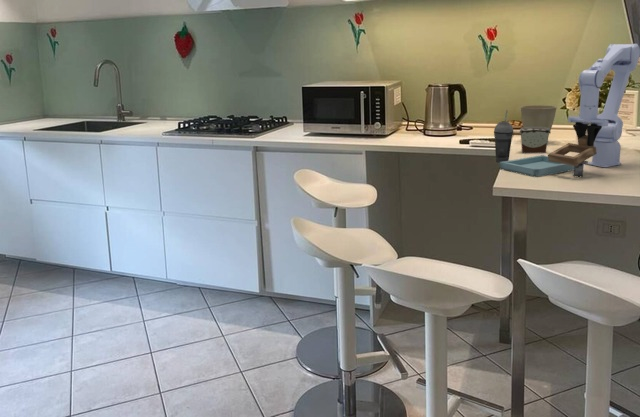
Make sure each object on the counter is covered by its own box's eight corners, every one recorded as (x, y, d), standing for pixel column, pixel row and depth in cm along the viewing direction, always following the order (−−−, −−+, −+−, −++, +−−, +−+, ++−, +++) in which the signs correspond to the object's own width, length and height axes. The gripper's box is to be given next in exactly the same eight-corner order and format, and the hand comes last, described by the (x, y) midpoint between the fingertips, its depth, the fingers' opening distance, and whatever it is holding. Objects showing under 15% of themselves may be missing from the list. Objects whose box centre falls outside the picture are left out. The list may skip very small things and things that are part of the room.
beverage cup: (503, 159, 247) (505, 108, 242) (516, 162, 241) (519, 109, 236) (488, 161, 244) (490, 109, 239) (501, 164, 238) (503, 111, 233)
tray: (541, 161, 241) (542, 155, 240) (579, 168, 227) (579, 161, 226) (499, 168, 231) (499, 162, 230) (535, 176, 216) (536, 169, 216)
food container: (545, 150, 263) (547, 126, 261) (549, 152, 258) (551, 128, 255) (515, 150, 265) (516, 126, 262) (518, 153, 259) (519, 128, 256)
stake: (573, 173, 219) (574, 158, 218) (588, 176, 214) (589, 160, 212) (567, 175, 218) (568, 159, 216) (582, 178, 213) (583, 162, 211)
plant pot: (560, 142, 280) (563, 106, 276) (542, 146, 271) (544, 109, 267) (530, 139, 292) (532, 104, 287) (512, 143, 282) (513, 107, 278)
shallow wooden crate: (576, 145, 226) (575, 133, 224) (604, 149, 217) (603, 137, 215) (548, 161, 220) (546, 149, 218) (575, 165, 210) (573, 153, 209)
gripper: (563, 105, 220) (560, 143, 224) (600, 108, 208) (596, 149, 212) (576, 103, 224) (574, 141, 227) (613, 106, 212) (610, 146, 215)
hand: (585, 145), depth 220 cm, fingers closed on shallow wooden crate, 3 cm apart
